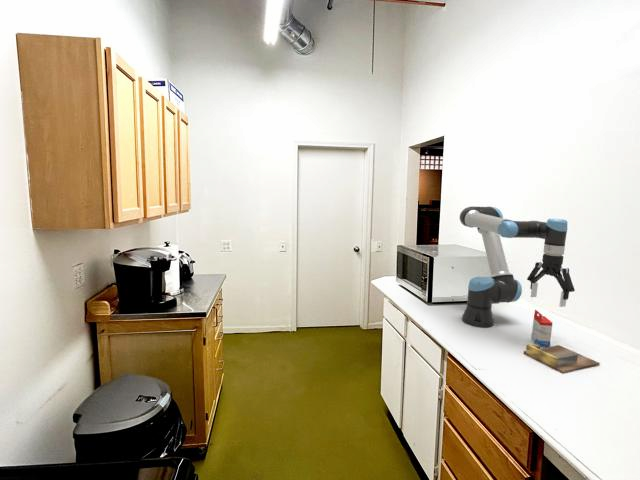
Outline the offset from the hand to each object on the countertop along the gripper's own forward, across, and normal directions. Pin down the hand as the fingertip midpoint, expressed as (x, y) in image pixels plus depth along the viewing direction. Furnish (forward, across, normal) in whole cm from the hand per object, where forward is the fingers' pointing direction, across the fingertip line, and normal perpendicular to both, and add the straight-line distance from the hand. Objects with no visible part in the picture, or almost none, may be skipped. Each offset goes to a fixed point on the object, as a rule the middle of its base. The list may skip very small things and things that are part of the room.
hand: (547, 301), depth 157 cm
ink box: (+20, -1, 0) cm, 20 cm away
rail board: (+20, +13, -6) cm, 25 cm away
